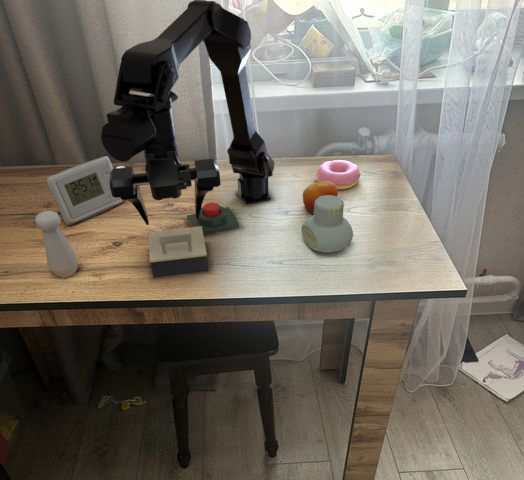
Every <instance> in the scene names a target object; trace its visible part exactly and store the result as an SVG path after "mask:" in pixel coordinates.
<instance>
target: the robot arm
mask: <svg viewBox="0 0 524 480" xmlns="http://www.w3.org/2000/svg"><path fill="white" fill-rule="evenodd" d="M201 43H204V46H205V49H206V52H207V55H208V58H209V60H210V61H211V62H212V63H213V65H214V66H215V67H216V68H217V69H218V70H219V72H220V77H221V80H222V87H223V91H224V95H225V100H226V105H227V110H228V115H229V120H230V125H231V126H230V127H231V130H232V136H233V138H232V141H231V143H230V145H229V147H228V148H227V150H226V153H227V155H228V158H229V159H228V160H229V161H228V162H229V165H230V166H231V169H232V173H233V174H238V176H239V178H237V194H238V196H239V198H240V199H242V201H243V202H244V203H245V205H251V204H255V203H261V202H266V201H270V200H271V199H272V196H271V195H270V193H269V178H270V177H273V176H274V175H273V174H274V170H275V164H276V163H275V161H274V159H273V158H272V156H271V155H270V154H269V152H268V149H267V146H266V142H265V140H264V139H263V138H262V136H261V135H260V134H259V133H258V131H257V130H256V125H255V124H256V123H255V118H254V111H253V106H252V99H251V94H250V87H249V81H248V74H247V67H246V63H247V61H248V58H249V56H250V53H251V51H252V44H251V43H252V30H251V27H250V25H249V22H248V21H247V20H245V19H244V17H240V16H239V15H236V14H235V13H233V12H231V11H229V10H227V9H225V8H224V7H223V6H222V5H221V4H220V3H218V2H217V1H214V0H192V1H189V3H188V4H187V8H186V9H185V10H184V11H183V12H182V13H181V14H180V15H179V16H178V17H177V18H176V19H174V20H173V21H172V22H171V24H170V25H168V26H167V28H165V29H164V30H163V31H162V32H161V33H160V34H159V35H158V36H157V37H156V38H154V39H152V40H148V41H144V42H140V43H137V44H136V45H134V46H132V47H129V48H128V49H126V50H125V51H124V53H123V54H122V56H121V58H120V64H119V70H118V74H117V81H116V87H115V90H114V91H115V92H114V97H113V105H114V106H118V107H120V108H118V109H116V110H110V111H109V112H107V113H106V119H107V120H106V121H107V122H106V123H105V124H104V125H103V126H102V128H101V134H100V140H101V143H102V145H103V148H104V149H105V151H106V153H108V155H109V156H111V158H113V159H115V160H116V161H119V162H121V163H123V162H124V163H125V162H128V161H130V160H131V159H133V158H134V157H136V156H137V155H139V154H140V153H142V152H143V156H144V161H145V165H144V168H145V172H143V173H142V172H141V173H135V171H134V167H133V166H127V167H126V166H125V168H117V167H115V168H113V169H112V171H111V172H110V181H109V184H110V190H111V194H112V197H115V198H118V197H120V198H121V200H124V201H127V202H129V203H131V205H132V206H133V207H134V208H135V210H136V211H137V212H138V214H139V215H140V217H141V219H142V220H143V222H144V223H145V225H146V226H149V225H150V221H149V215H148V212H147V208H146V205H145V202H144V199H143V195H142V192H141V189H140V186H149V189H150V192H151V197H152V199H153V200H155V201H162V200H165V199H178V198H180V197H181V196H182V190H187V189H188V188H189V187H192V181H194V212H195V213H194V214H196V219H199V215H200V211H201V208H202V207H203V203H204V200H205V197H206V195H207V193H209V192H212V191H214V188H219V187H220V186H222V184H221V175H220V174H221V173H220V169H219V165H218V162H217V161H216V160H215V159H214V158H205V159H196V160H194V167H191V168H190V164H188V163H187V164H182V163H181V162H180V161H181V160H180V154H179V147H178V141H177V134H176V128H175V120H174V114H173V106H172V104H173V103H175V102H176V101H177V100H178V99H179V96H178V94H176V93H175V92H174V91H172V89H173V88H174V86H175V85H176V83H177V82H178V80H179V78H180V68H179V67H180V66H181V65H182V64H183V62H184V61H185V60H186V59H187V58H188V57H189V56H190V55H191V54H192V53H193V52H194V50H195V49H196V48H197V47H198V46H199V45H200V44H201ZM131 92H135V93H131ZM136 93H142V94H148V95H142V94H136Z"/></svg>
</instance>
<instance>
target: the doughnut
mask: <svg viewBox="0 0 524 480" xmlns="http://www.w3.org/2000/svg"><path fill="white" fill-rule="evenodd" d="M361 174H362V173H361V170H360V168H359V166H358V165H356V164H355V163H354V162H351V161H348V160H341V159H332V160H327V161H326V162H323V163H322V164H320V165H319V166H318V169H316V172H315V176H316V180H317V182H323V181H329V182H332V183H333V184H334V185H336V187H337V189H338V190H346V189H350V188H352V187H354V186H355V185H356V184H357V183H358V182H359V180H360V179H361V178H360V177H361Z"/></svg>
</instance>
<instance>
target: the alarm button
mask: <svg viewBox="0 0 524 480" xmlns="http://www.w3.org/2000/svg"><path fill="white" fill-rule="evenodd" d="M219 206H220V204H219V203H217V202H207V203H205V204H203V205H202V207H203V210H204V215H205V216H207V217H215V216H218V215H219V214H220V207H219Z"/></svg>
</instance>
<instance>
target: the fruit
mask: <svg viewBox="0 0 524 480" xmlns="http://www.w3.org/2000/svg"><path fill="white" fill-rule="evenodd" d="M325 195H333V196H337V197H339V189H337V187H336V185H334V184H333V183H332V182H329V181H323V182H319V181H314V182H313V183H310V184H309V185H308V186H307V187H306V188H305V189H304V190H303V192H302V203H303V205H304V207H305V209H306V210H307V211H308V212H309V213H311V214H314V203H315V200H316V199H317V198H319V197H321V196H325Z"/></svg>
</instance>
